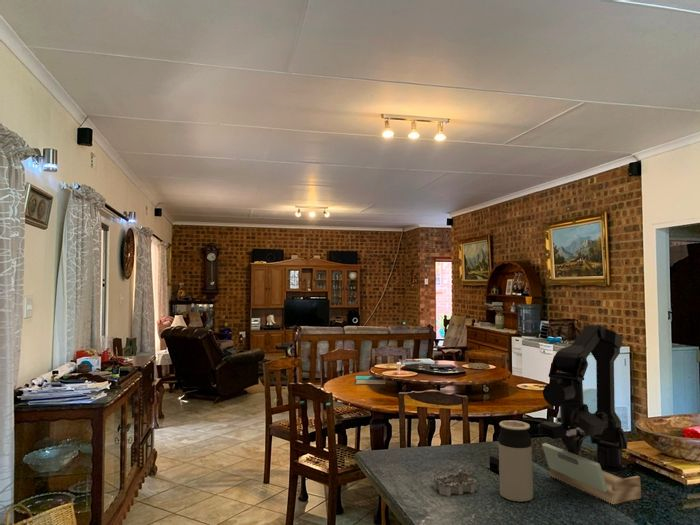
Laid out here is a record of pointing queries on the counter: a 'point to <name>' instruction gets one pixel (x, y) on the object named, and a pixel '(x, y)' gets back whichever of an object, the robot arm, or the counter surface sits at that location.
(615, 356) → the robot arm
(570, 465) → the panel
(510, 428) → the travel mug
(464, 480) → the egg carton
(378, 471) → the counter surface
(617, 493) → the cart bed
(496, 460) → the build plate
